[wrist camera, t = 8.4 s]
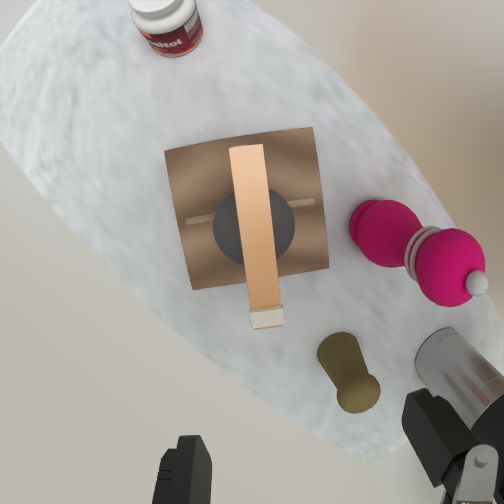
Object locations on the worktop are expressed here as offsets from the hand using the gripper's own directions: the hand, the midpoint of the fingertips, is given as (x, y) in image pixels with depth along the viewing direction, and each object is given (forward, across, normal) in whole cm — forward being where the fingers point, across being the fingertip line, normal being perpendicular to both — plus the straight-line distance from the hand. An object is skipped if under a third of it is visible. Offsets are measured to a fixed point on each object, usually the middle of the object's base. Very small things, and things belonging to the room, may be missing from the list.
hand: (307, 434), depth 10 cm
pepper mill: (+26, -14, 0) cm, 30 cm away
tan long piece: (+18, 0, -5) cm, 18 cm away
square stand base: (+26, 0, -5) cm, 27 cm away
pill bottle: (+26, +5, -27) cm, 38 cm away
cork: (+26, -8, +16) cm, 32 cm away
